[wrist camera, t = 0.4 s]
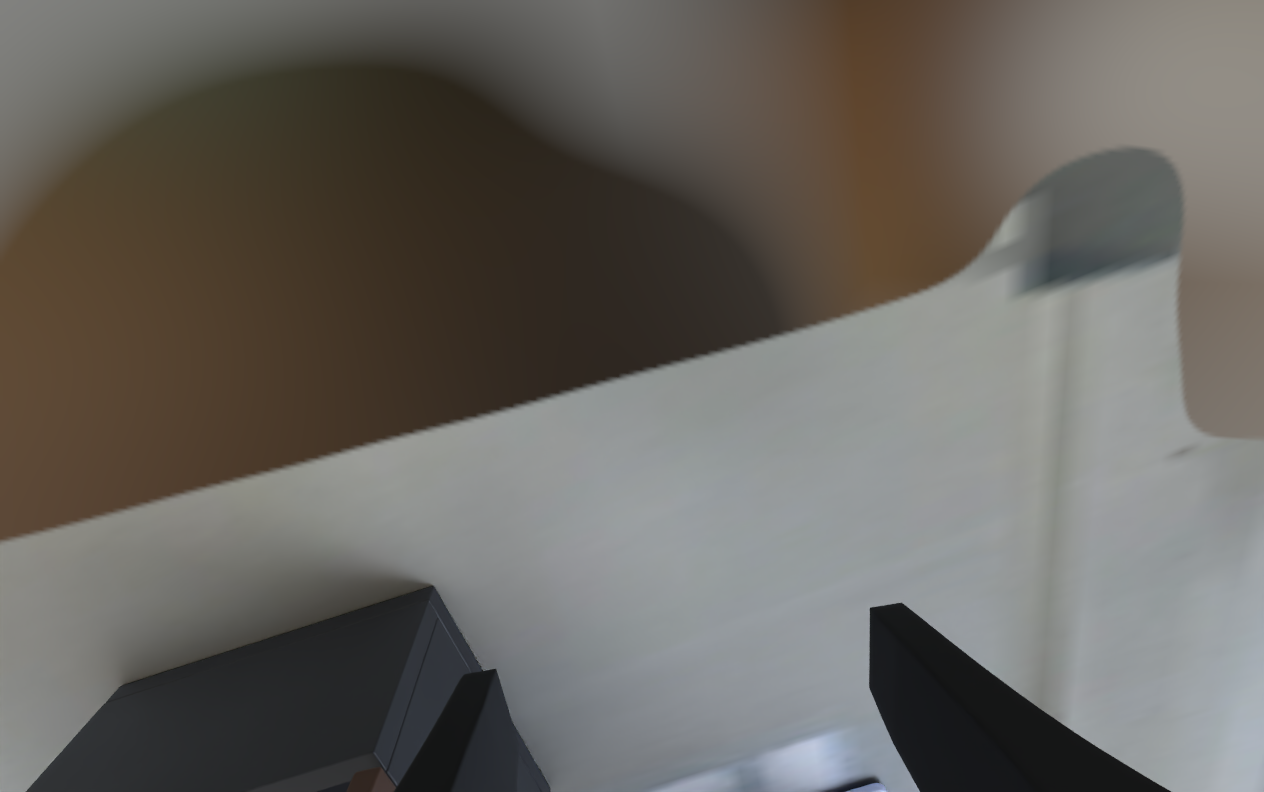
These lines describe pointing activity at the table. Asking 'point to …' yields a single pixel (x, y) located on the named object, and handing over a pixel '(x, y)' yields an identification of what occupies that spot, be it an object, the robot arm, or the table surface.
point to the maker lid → (371, 781)
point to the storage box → (283, 711)
